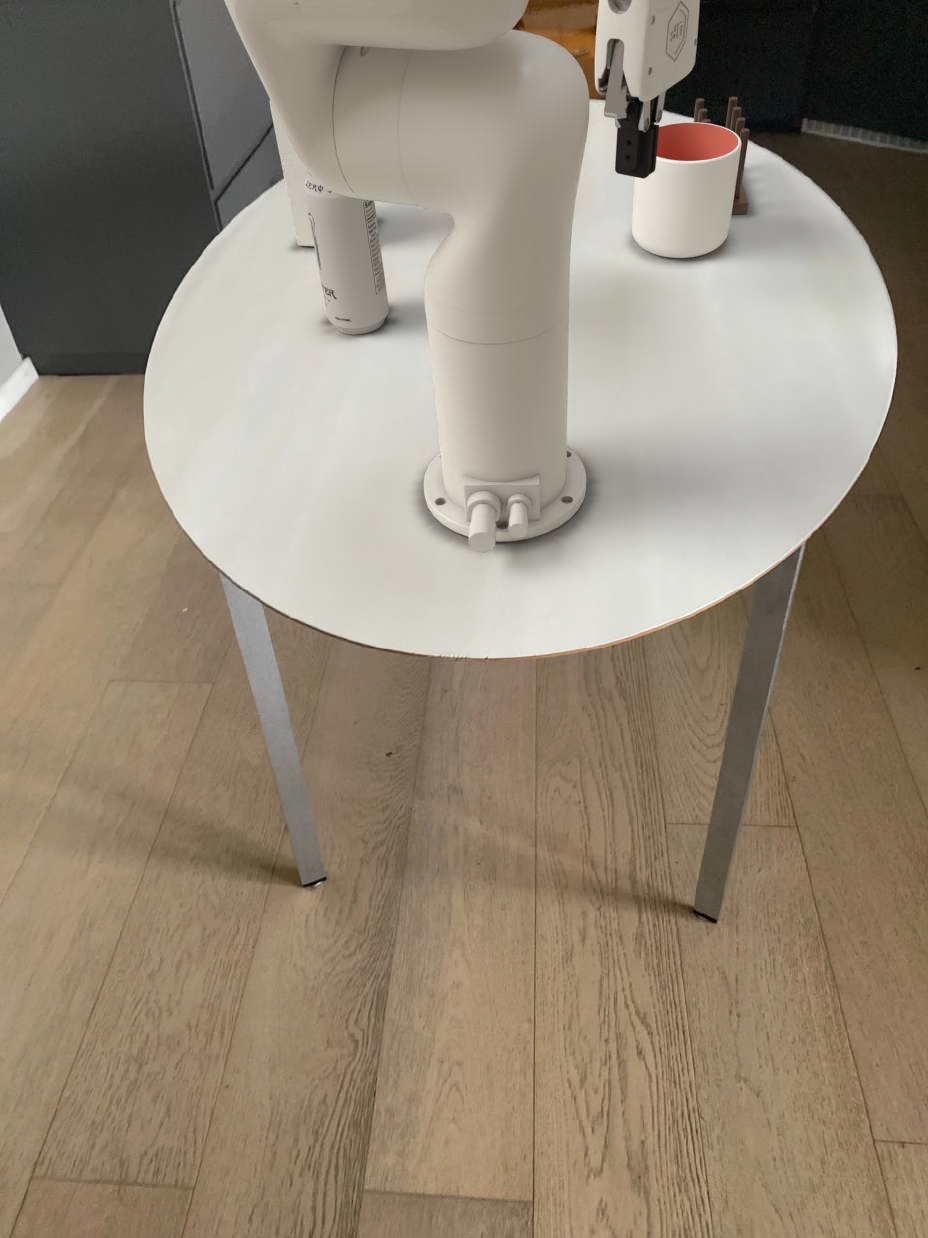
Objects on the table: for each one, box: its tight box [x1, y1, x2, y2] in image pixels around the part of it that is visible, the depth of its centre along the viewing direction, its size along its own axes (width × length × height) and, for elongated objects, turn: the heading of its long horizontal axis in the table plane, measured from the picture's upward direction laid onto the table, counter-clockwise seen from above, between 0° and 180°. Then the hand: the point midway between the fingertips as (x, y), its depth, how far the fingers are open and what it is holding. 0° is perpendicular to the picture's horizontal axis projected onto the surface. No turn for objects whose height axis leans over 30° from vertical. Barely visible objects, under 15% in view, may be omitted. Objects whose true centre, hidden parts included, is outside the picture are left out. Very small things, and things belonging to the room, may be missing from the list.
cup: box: [631, 121, 741, 259], centre depth 96 cm, size 10×10×10 cm
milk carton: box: [269, 99, 314, 247], centre depth 99 cm, size 7×7×19 cm
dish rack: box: [693, 96, 750, 215], centre depth 105 cm, size 12×6×8 cm, turn 177°
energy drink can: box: [303, 170, 390, 335], centre depth 88 cm, size 6×6×15 cm
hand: (634, 172), depth 85 cm, fingers closed
